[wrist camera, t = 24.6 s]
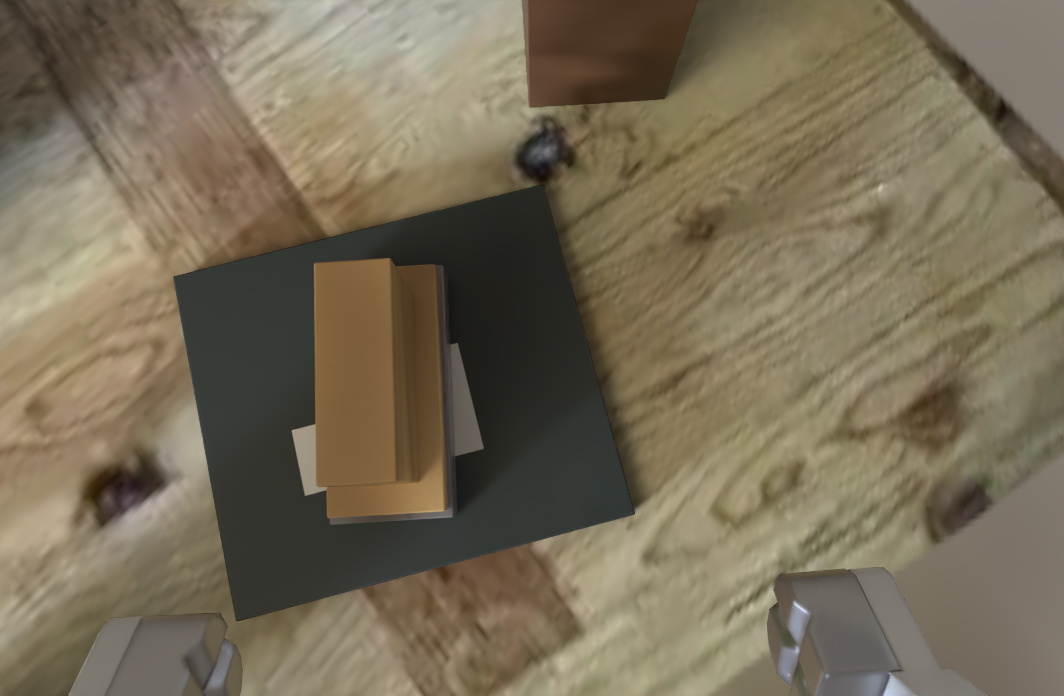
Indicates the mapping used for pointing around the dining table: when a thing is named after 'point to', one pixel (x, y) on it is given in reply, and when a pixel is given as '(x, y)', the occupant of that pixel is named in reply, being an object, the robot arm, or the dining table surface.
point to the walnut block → (602, 49)
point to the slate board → (478, 405)
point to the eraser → (383, 391)
